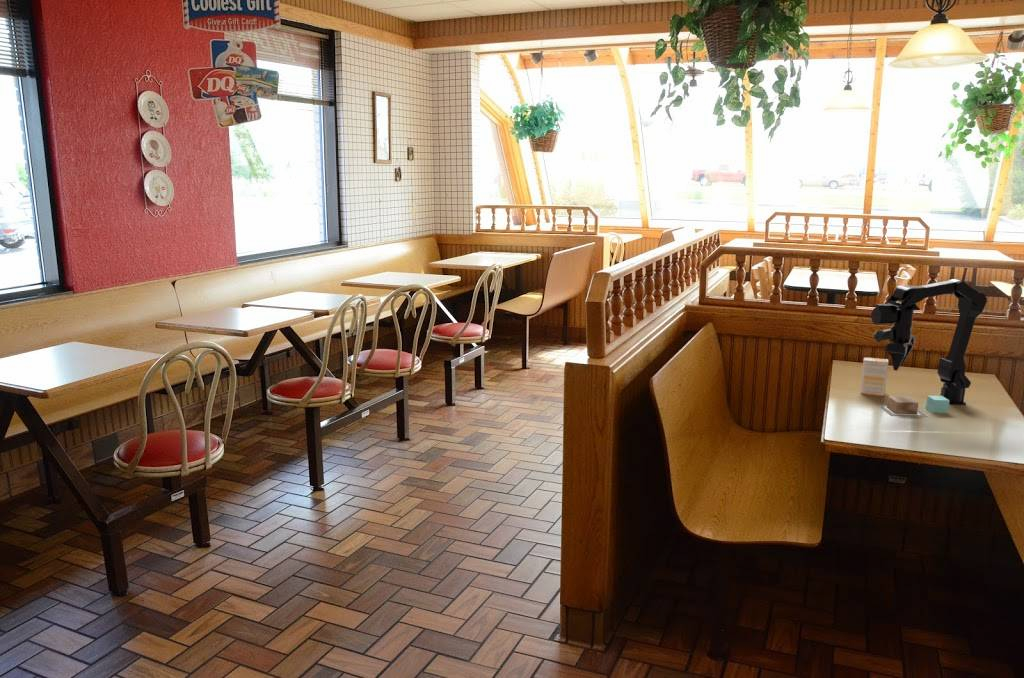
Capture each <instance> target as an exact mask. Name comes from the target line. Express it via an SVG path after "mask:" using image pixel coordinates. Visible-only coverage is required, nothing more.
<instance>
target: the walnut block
mask: <svg viewBox="0 0 1024 678" xmlns="http://www.w3.org/2000/svg"><path fill="white" fill-rule="evenodd" d="M886 402H887V404H886V405H887V408H889V409H890V410H891V411H893V412H894V413H895V414H917V410H919V402H918V401H917V400H915V399H914V398H912V397H911V396H899V395H898V396H897V395H888V397H887V401H886Z"/></svg>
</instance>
